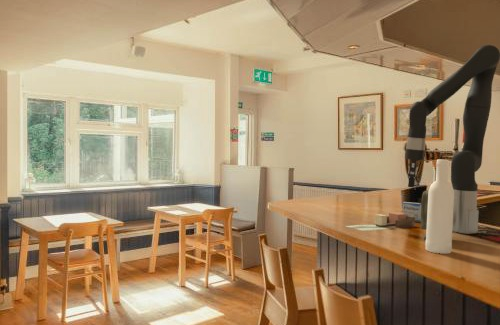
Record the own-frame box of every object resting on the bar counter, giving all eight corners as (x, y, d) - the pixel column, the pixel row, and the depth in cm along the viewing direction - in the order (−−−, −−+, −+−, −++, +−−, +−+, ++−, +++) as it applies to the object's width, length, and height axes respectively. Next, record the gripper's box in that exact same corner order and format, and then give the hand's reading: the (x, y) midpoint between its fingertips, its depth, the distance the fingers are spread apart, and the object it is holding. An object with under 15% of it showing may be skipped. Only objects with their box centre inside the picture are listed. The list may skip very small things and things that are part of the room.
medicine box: (401, 220, 197) (402, 202, 197) (403, 219, 201) (403, 201, 201) (419, 222, 193) (420, 203, 193) (420, 221, 197) (421, 202, 197)
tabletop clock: (427, 234, 166) (430, 170, 165) (452, 237, 161) (455, 172, 160) (419, 240, 154) (422, 172, 153) (446, 244, 149) (450, 173, 148)
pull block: (405, 225, 182) (406, 214, 182) (382, 227, 175) (382, 215, 175) (396, 223, 186) (397, 212, 186) (373, 225, 179) (373, 213, 179)
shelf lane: (416, 227, 181) (416, 217, 180) (363, 232, 166) (364, 220, 166) (396, 222, 190) (396, 213, 190) (344, 226, 176) (345, 216, 176)
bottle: (422, 251, 137) (427, 159, 136) (427, 246, 144) (432, 158, 143) (449, 255, 133) (454, 160, 132) (453, 250, 139) (458, 160, 138)
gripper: (424, 149, 173) (420, 188, 175) (424, 149, 186) (420, 185, 188) (405, 148, 176) (401, 186, 177) (406, 147, 189) (402, 183, 191)
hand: (411, 186), depth 183 cm, fingers open, 8 cm apart
